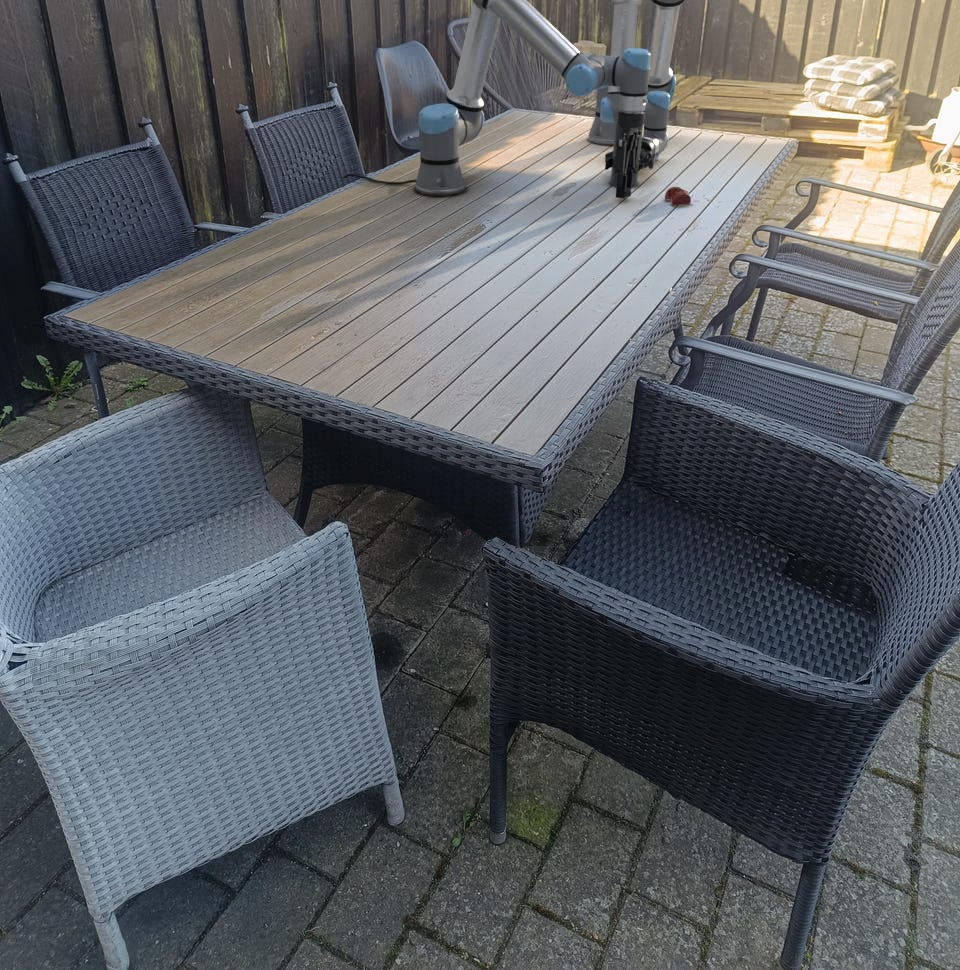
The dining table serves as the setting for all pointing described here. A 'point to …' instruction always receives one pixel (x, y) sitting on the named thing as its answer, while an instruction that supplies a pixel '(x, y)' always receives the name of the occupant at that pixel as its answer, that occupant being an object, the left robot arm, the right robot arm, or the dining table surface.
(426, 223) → the dining table surface
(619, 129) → the bottle
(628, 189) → the cap
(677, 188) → the dental model
